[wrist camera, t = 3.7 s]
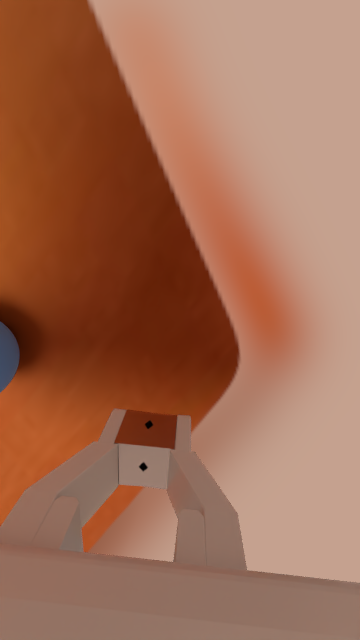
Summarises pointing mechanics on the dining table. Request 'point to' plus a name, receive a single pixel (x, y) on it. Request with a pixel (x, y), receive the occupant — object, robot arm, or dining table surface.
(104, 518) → the dining table surface
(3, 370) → the ball
